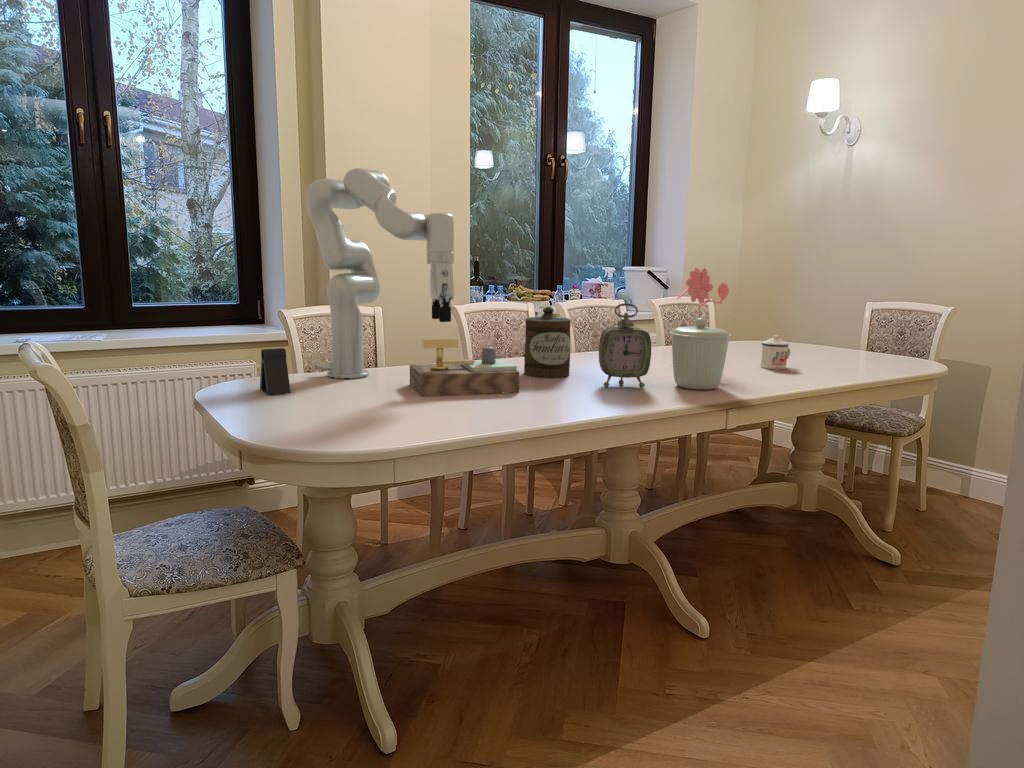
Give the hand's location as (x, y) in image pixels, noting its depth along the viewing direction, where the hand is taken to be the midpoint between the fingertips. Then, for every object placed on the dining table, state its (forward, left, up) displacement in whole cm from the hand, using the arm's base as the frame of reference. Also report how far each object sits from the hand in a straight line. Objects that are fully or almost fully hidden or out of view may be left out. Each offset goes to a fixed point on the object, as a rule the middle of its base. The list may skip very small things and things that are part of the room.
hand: (441, 320), depth 210 cm
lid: (+14, 0, -14) cm, 20 cm away
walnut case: (+7, 0, -20) cm, 21 cm away
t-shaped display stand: (+2, 0, -14) cm, 14 cm away
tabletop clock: (+55, -6, -20) cm, 59 cm away
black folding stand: (-45, +6, -20) cm, 50 cm away
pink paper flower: (+97, +23, -20) cm, 101 cm away
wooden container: (+40, +19, -20) cm, 49 cm away
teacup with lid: (+127, +16, -20) cm, 129 cm away
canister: (+77, -12, -20) cm, 80 cm away
